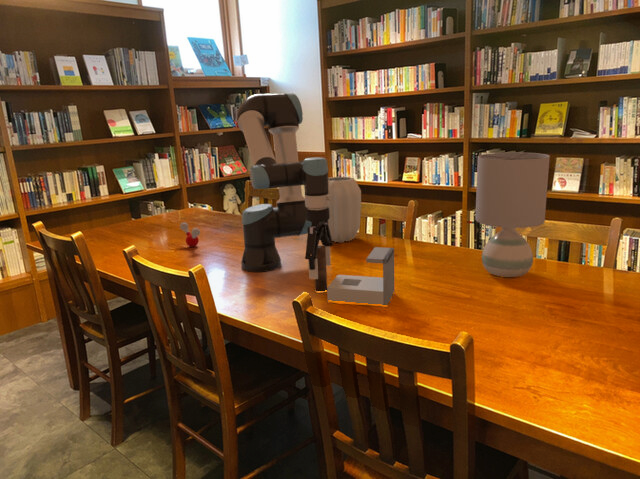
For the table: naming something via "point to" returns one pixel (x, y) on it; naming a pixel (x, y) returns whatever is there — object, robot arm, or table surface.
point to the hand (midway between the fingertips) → (320, 271)
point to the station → (366, 282)
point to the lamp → (510, 207)
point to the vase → (344, 208)
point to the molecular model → (190, 235)
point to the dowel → (321, 269)
